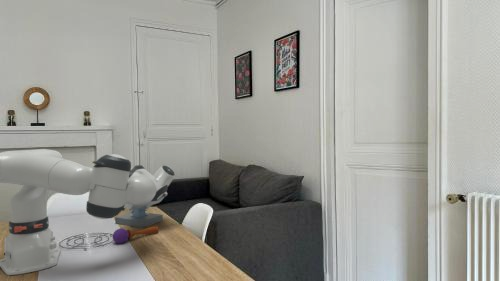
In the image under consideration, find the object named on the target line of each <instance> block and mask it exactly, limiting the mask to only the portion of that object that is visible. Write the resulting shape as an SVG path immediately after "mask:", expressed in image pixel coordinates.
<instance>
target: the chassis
mask: <svg viewBox="0 0 500 281" xmlns="http://www.w3.org/2000/svg"><path fill="white" fill-rule="evenodd" d="M163 218H164V216H163V214H158V213H151V212H147V211H145V217H141V218H135V217H133V213H131V214H130V213H126V214H122V215H119V216H118V215H117V216H115V217H114V221H115V222H114V223H115V224H116V225H124V226H129V227H136V228H145V227H148V226H151V225H154V224H157V223H159V222H163V221H164V219H163Z"/></svg>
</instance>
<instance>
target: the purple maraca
mask: <svg viewBox="0 0 500 281" xmlns="http://www.w3.org/2000/svg"><path fill="white" fill-rule="evenodd" d="M159 230H160V229H159V227H158V226H157V225H154V226H151V227H147V228H145V229H140V230H137V231H133V230H131V229H125V228H122V227H121V228H117V229H115V231H114V232H113V234H112V240H113V241H114V242H115V244H125V243H126V242H127V241H129V240H130V241H131V239H132V238H133V237H134V236H138V235H152V234H153V235H154V234H158V233H159Z"/></svg>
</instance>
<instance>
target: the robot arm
mask: <svg viewBox="0 0 500 281" xmlns="http://www.w3.org/2000/svg"><path fill="white" fill-rule="evenodd" d="M63 157H64V156H62V153H61V152H59V151H58V150H54V149H49V148H40V149H39V148H38V149H36V148H35V149H23V150H21V149H20V150H19V149H18V150H7V151H6V150H5V151H2V152H0V184H11V185H19V186H22V187H21V189H19V191H18V192H15V193H14V194H13V195H12V196H11V198H10V201H9V218H10V220H9V222H8V232H9V234H8V235H7V236H5V238H4V252H3V256H4V258H2V259H0V268H1V270H2V271H3V273H5V275H7V276H12V275H13V276H14V275H23V274H27V273H31V272H32V273H33V272H38V271H41V270H46V269H49V268H52V267H54V266H55V267H56V265H57V263H58V261H59V258H60V255H61V249H59V248H57V241H55V240H56V236H55V235H54V230H52V229H50V228H49V226H50V225H49V223H50V221H49V216H48V209H47V207H48V205H47V204H48V194H49V190H50V191H52V192H56V193H59V194H63V195H68V196H69V195H71V196H83V195H84V194H86V193H88V192H89V193H88V194H89V195H88V200H87V201H86V207H85V208H86V212H87V214H88V215H90V216H92V217H94V218H96V219H99V220H107V219H114V218H115V217H117V216H118V215H119V214H120V213H121V212H122V211H123V212H124V211H125V210H126V208H127V209H128V212H129V213H130V214H131V213H133V212H134V209H137V208H141V207H145V210H148V209H149V208H150V207H152V206H153V205H156V204H159V203H160V202H162V201H163V199H164V198H165V197H167V196H168V192H167V191H168V190H169V189H168V188H169V186H170V185H171V183H172V182H173V180H174V178H175V175H176V174H175V171H174V170H173V169H172V168H170V167H168V166H167V165H161V166H160V167H159V168H158V169H157V170H156V171H155V172H154V173H153V174H152V173H150V171H148V170H147V168H145V167H144V166H143V165H140V164H138V165H133V167H132V163H131V161H130V160H129V159H127V158H126V157H125V156H123V155H120V154H118V153H113V154H105V155H102V156H100V157H99V158H98V159H97V160H93V161H92V164H95V165H94V166H87V165H83V164H81V163H78V162H76V161H73V160H70V159H66V158H63ZM125 206H126V207H125ZM129 213H128V214H129Z"/></svg>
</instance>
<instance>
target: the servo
mask: <svg viewBox="0 0 500 281" xmlns="http://www.w3.org/2000/svg"><path fill="white" fill-rule="evenodd" d="M147 210H148V209H145V207H141V208H137V209H134V212H133V217H135V218H141V217H145V212H147Z"/></svg>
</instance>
